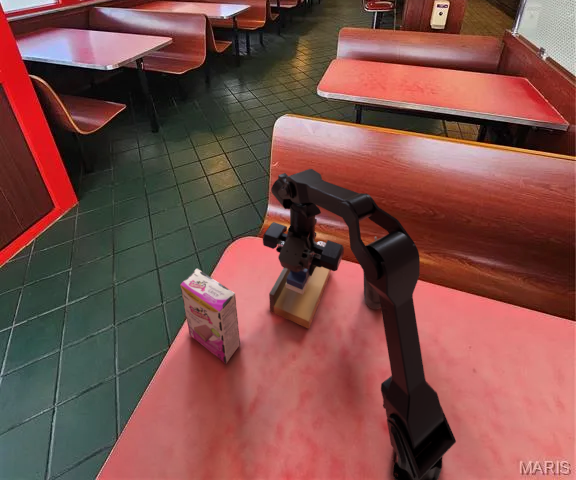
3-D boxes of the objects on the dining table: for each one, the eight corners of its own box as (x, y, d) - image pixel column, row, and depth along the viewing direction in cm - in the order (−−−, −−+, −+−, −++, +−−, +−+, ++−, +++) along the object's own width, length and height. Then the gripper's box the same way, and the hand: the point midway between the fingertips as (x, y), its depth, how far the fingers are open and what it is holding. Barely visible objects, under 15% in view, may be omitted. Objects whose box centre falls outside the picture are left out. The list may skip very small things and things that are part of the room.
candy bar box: (188, 337, 73) (178, 284, 67) (204, 318, 77) (196, 266, 71) (225, 367, 68) (218, 312, 62) (241, 345, 72) (236, 291, 66)
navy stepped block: (301, 256, 86) (301, 240, 84) (317, 261, 84) (318, 246, 82) (285, 287, 78) (285, 271, 76) (302, 294, 76) (302, 278, 74)
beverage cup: (390, 317, 77) (400, 253, 70) (358, 311, 78) (364, 248, 71) (387, 289, 84) (396, 228, 76) (358, 284, 85) (364, 224, 78)
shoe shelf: (330, 273, 88) (331, 256, 86) (308, 329, 75) (309, 310, 72) (296, 260, 92) (296, 244, 90) (269, 311, 79) (269, 293, 76)
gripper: (249, 232, 72) (252, 283, 78) (330, 261, 65) (328, 316, 70) (272, 201, 81) (274, 249, 87) (346, 223, 74) (342, 274, 80)
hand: (302, 270), depth 81 cm, fingers closed on navy stepped block, 4 cm apart
